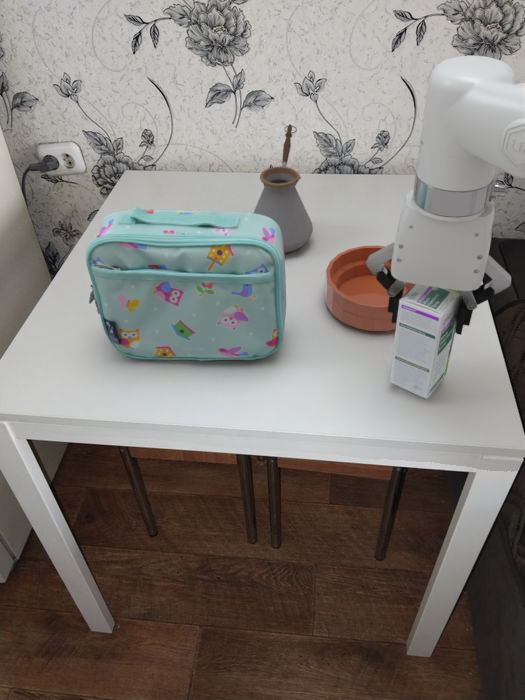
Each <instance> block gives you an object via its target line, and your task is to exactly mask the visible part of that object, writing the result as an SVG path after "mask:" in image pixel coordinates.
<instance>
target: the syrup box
mask: <svg viewBox="0 0 525 700" xmlns="http://www.w3.org/2000/svg"><path fill="white" fill-rule="evenodd" d="M461 300H462V295H461V292H460V291H459V290H452V289H445V288H438V287H432V286H425V285H419V284H414V285H413V286H412V287H411V288H410V289H409V290H408V291H407V292H406V293H405V295H404V296H403V297H402V298H401V299H400V300H399V308H398V316H397V324H396V329H395V333H394V339H393V340H394V341H393V349H392V356H391V365H390V371H389V372H390V373H389V382H390V383H391V384H394V385H395V386H397V387H398V388H399V387H400V388H401V389H403V390H406V391H407V392H410V393H412V394H415V395H417V396H419V397H421V398H423V399H426V400H428V399H429V398H430V396H431V394H433V393H434V392H435V390H436V389H437V387H438V386H439V385H440V383H441V382H442V381H443V379H444V377H445V376H447V372H448V367H449V363H450V359H451V353H452V348H453V343H454V339H455V334H456V333H455V331H456V324H457V318H458V314H459V309H460V305H461Z"/></svg>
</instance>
